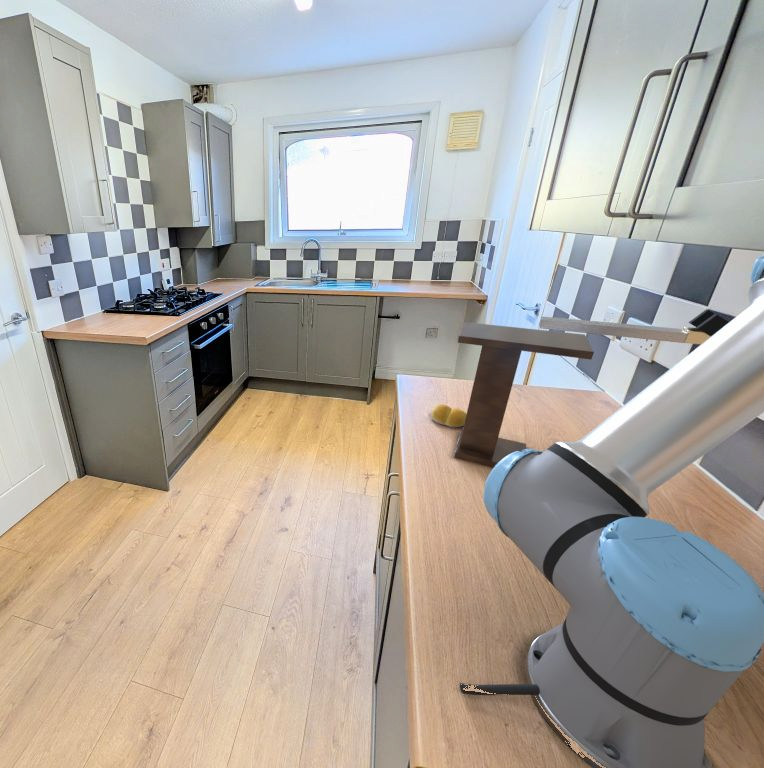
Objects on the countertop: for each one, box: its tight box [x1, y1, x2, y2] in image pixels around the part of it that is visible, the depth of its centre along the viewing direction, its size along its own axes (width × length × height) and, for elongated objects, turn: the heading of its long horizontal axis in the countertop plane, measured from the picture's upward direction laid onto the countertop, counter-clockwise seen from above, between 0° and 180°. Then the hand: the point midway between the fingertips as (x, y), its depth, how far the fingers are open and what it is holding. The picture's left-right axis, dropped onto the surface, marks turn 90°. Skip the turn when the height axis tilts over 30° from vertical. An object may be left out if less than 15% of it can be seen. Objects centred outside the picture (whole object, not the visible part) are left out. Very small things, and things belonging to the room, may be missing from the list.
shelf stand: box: [453, 321, 595, 469], centre depth 86 cm, size 22×12×29 cm, turn 59°
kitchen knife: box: [538, 315, 711, 346], centre depth 64 cm, size 30×3×2 cm, turn 59°
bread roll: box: [429, 403, 467, 429], centre depth 105 cm, size 8×9×4 cm
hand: (702, 318), depth 61 cm, fingers closed on kitchen knife, 3 cm apart
